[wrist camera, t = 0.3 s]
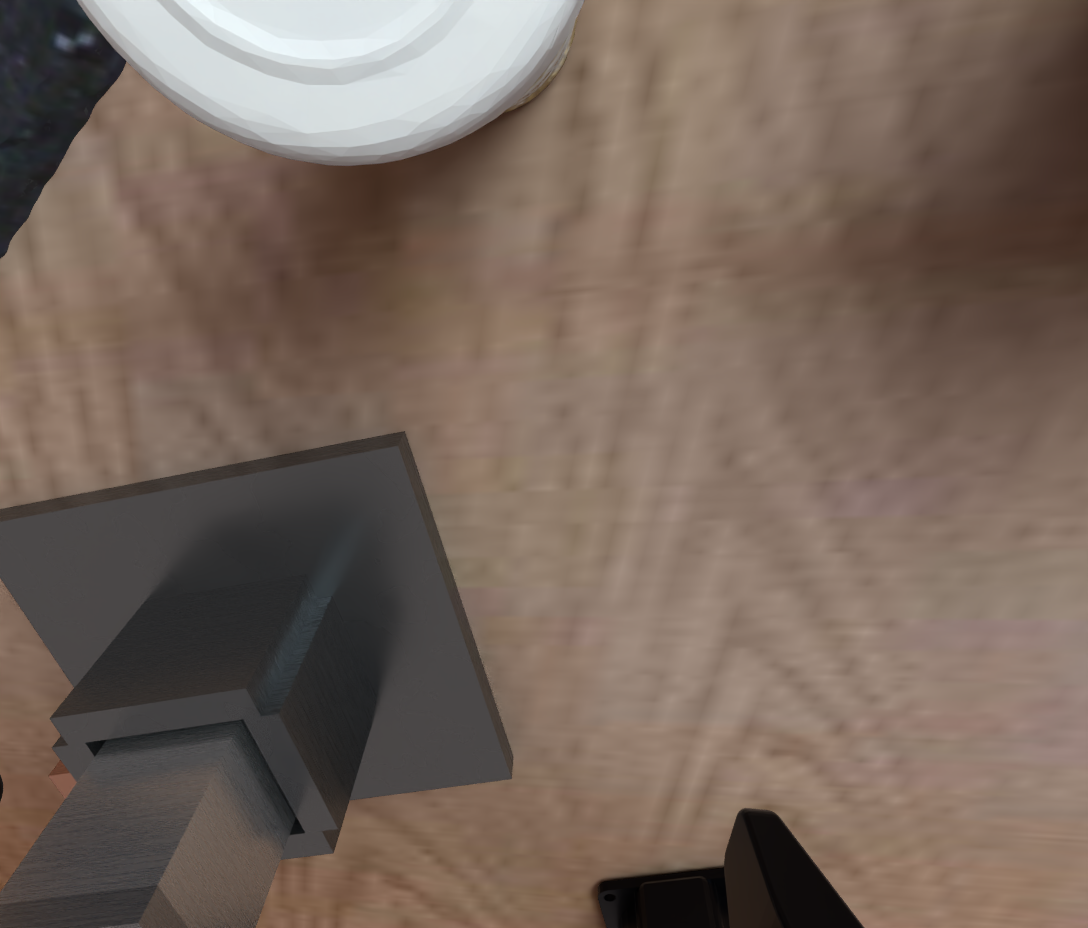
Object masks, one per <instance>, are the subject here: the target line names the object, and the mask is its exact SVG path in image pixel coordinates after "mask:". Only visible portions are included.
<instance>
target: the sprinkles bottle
mask: <svg viewBox="0 0 1088 928" xmlns="http://www.w3.org/2000/svg"><path fill="white" fill-rule="evenodd" d="M77 2H78V3H79V5H80V6H81V7H82V9H83V10H84V12H85V13H86V15H87V16H88V18H89V19H90V20H91V21H92V23H93V24H94V25H95V26H96V27H97V29H98V30H99V31H100V32H101V34H102V35H103V36H104V37H105V38H106V40H107V41H108V42H109V43H110V45H111V46H112V47H113V48H114V49H115V50H116V51H117V52H118V53H119V54H120V55H121V56H122V57H123V58H124V59H125V60H126V61H127V62H128V63H129V64H130V65H131V66H132V67H133V68H134V69H135V70H136V71H137V72H138V73H139V74H140V75H141V76H142V77H143V78H144V79H145V80H146V81H147V82H148V83H149V84H150V85H151V86H152V87H154V88H155V89H156V90H157V91H159V92H160V93H161V94H162V95H164V96H165V97H166V98H167V99H169V100H170V101H171V102H173V103H174V104H175V105H176V106H178V107H179V108H180V109H181V110H183V111H184V112H185V113H187V114H188V115H190V116H192V117H193V118H195V119H196V120H198V121H200V122H202V123H203V124H205V125H207V126H209V127H211V128H212V129H214V130H216V131H218V132H220V133H222V134H224V135H226V136H228V137H230V138H232V139H234V140H237V141H239V142H241V143H243V144H246V145H248V146H251V147H253V148H256V149H258V150H261V151H264V152H266V153H269V154H272V155H276V156H280V157H284V158H288V159H292V160H298V161H304V162H311V163H317V164H323V165H337V166H354V165H367V164H380V163H386V162H392V161H398V160H403V159H406V158H409V157H413V156H416V155H420V154H423V153H426V152H429V151H432V150H435V149H438V148H440V147H443V146H446V145H449V144H451V143H453V142H455V141H457V140H459V139H461V138H463V137H465V136H467V135H469V134H471V133H473V132H474V131H476V130H478V129H479V128H481V127H482V126H484V125H486V124H487V123H489V122H491V121H492V120H494V119H496V118H497V117H498V116H499V115H501V114H502V113H504V112H509V111H511V110H513V109H516V108H518V107H520V106H522V105H524V104H526V103H528V102H529V101H530V100H532V99H533V98H534V97H536V96H537V95H538V94H539V93H540V92H541V91H542V90H543V89H545V88H546V87H547V86H548V84H549V83H550V82H551V81H552V80H553V79H554V78H555V76H556V75H557V74H558V72H559V71H560V69H561V68H562V66H563V64H564V62H565V60H566V58H567V55H568V52H569V49H570V46H571V44H572V41H573V38H574V34H575V27H576V22H577V16H578V14H579V11H580V9H581V7H582V5H583V3H584V0H77Z"/></svg>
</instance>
